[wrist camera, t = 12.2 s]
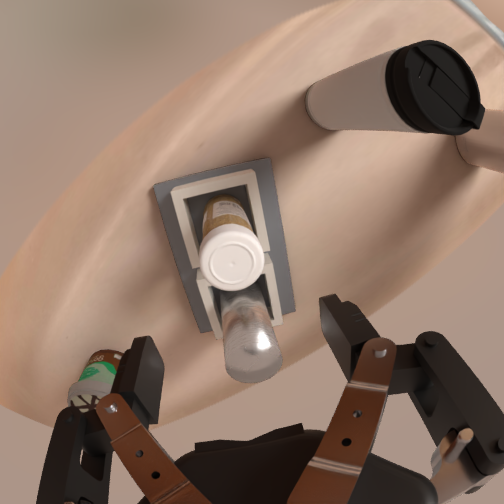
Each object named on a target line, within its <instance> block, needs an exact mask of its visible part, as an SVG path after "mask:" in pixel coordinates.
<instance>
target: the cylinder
mask: <svg viewBox="0 0 504 504" xmlns="http://www.w3.org/2000/svg"><path fill="white" fill-rule="evenodd" d="M220 303H221V317H222V330H223V343H224V355H225V366H226V371H227V373H228V374H229V375H230V376H231V377H232V378H233V379H235V380H237V381H240V382H244V383H257V382H262V381H265V380H267V379H269V378H271V377H272V376H274V375H275V374H276V373H277V372H278V371H279V369H280V368H281V366H282V361H283V359H282V355H281V352H280V349H279V345H278V342H277V339H276V336H275V333H274V330H273V327H272V323H271V320H270V317H269V314H268V311H267V308H266V305H265V301H264V298H263V295H262V292H261V289H260V286H259V283H258V282H257V280H256V281H255V282H254V283H253V284H251V285H250V286H248V287H246V288H244V289H241V290H237V291H225V290H221V289H220Z"/></svg>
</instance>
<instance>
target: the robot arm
mask: <svg viewBox="0 0 504 504" xmlns="http://www.w3.org/2000/svg"><path fill="white" fill-rule="evenodd" d="M456 143H457V147H458V150H459V152H460V155H461V156H462V158H463V159H464V160H465V161H466V162H467V163H469V164H472V165H476V166H479V167H483V168H487V169H490V170H494V171H497V172H501V173H504V110H491V109H485V113H484V117H483V120H482V123H481V126H480V129H479V130H476V129H471V130H470V131H468V132H467V133H465V134H462V135H456ZM319 306H320V318H321V327H322V331H323V334H324V337H325V338H326V340H327V342H328V344H329V346H330V348H331V349H332V352H333V353H334V355H335V358H336V359H337V361H338V363H339V365H340V367H341V369H342V371H343V373H344V375H345V377H346V379H347V380H348V383H347V384H346V386H345V389H344V391H343V394H342V396H341V398H340V401H339V403H338V405H337V408H336V410H335V413H334V415H333V417H332V419H331V422H330V424H329V426H328V428H327V430H326V432H325V431H321V430H304V429H303V425H302V423H299V424H296V425H292V426H288V427H284V428H279V429H275V430H273V431H271V432H269V433H266V434H264V435H262V436H259V437H257V438H255V439H253V440H249V441H234V440H214V441H207V442H199V443H195V450H194V451H191V452H189V453H187V454H185V455H183V456H182V457H180V458H179V459H177V460H176V461H174V460H173V459H172V458H171V457H170V456H169V455H168V454H167V452H166V451H165V450H164V449H163V448H162V447H161V445H160V444H159V443H158V442H157V440H156V439H155V438H154V437H153V436H152V434H151V433H150V432H149V430H148V428H149V424H158V417H159V408H160V400H161V392H162V385H163V377H164V363H163V360H162V358H161V356H160V354H159V352H158V350H157V348H156V346H155V344H154V342H153V340H152V338H151V337H150V336H143V337H137V338H134V340H133V343H132V346H131V349H127V350H126V351H125V353H124V354H123V355H122V357H121V359H120V362H119V366H118V368H117V373H116V375H115V378H114V381H113V385H112V388H111V391H110V394H108V395H106V396H104V397H102V398H101V399H100V400H99V402H98V403H97V406H96V409H93V410H90V411H87V412H84V413H82V412H81V411H80V410H79V409H78V408H77V407H74V406H70V407H67V408H65V409H63V410H62V411H61V412H60V413H59V415H58V417H57V420H56V423H55V426H54V430H53V433H52V436H51V440H50V444H49V447H48V451H47V455H46V459H45V463H44V467H43V471H42V476H41V480H40V485H39V490H38V495H37V501H36V504H108V495H109V483H110V482H109V481H110V472H111V462H112V454H113V451H115V452H116V453H117V455H118V457H119V458H120V460H121V462H122V463H123V465H124V466H125V468H126V469H127V471H128V472H129V474H130V475H131V477H132V478H133V479H134V481H135V482H136V484H137V485H138V487H139V488H140V489H141V491H142V492H143V493H144V495H145V496H144V497H143V498H142V499H141V500H140V502H139V503H138V504H446V503H448V502H450V501H451V500H453V499H455V498H456V497H458V496H460V495H462V494H463V493H465V494H470V493H473V492H476V491H477V490H478V489H480V488H481V487H482V486H484V485H485V484H486V483H487V482H488V481H489V480H491V479H492V478H493V477H494V476H495V475H496V474H498V473H499V472H500V471H501V470H502V469H503V468H504V414H503V412H502V411H501V409H500V408H499V406H498V405H497V404H496V402H495V401H494V399H493V398H492V397H491V395H490V394H489V393H488V391H487V390H486V388H485V387H484V386H483V384H482V383H481V382H480V381H479V379H478V378H477V377H476V375H475V374H474V373H473V371H472V370H471V369H470V368H469V366H468V365H467V364H466V363H465V361H464V360H463V359H462V358H461V356H460V355H459V354H458V353H457V351H456V350H455V349H454V348H453V347H452V346H451V344H450V343H449V342H448V341H447V339H446V338H445V337H444V336H443V335H442V334H440V333H437V332H433V331H428V332H424V333H422V334H420V335H419V336H418V337H417V338H416V341H415V343H412V344H405V345H395V343H394V342H393V341H391V340H389V339H387V338H383V337H380V335H379V334H378V333H377V331H376V330H375V329H374V328H373V326H372V325H371V323H370V322H369V321H368V319H366V317H365V316H364V314H363V313H362V312H361V310H360V309H359V308H358V307H357V305H355V304H353V303H351V302H349V301H346V302H341V301H340V299H339V298H338V296H337V295H336V294H331V295H328V296H324V297H321V298H319ZM400 393H408V394H409V396H410V398H411V400H412V402H413V403H414V405H415V407H416V409H417V411H418V412H419V414H420V416H421V418H422V420H423V421H424V424H425V425H426V427H427V429H428V431H429V433H430V435H431V437H432V439H433V440H434V443H435V445H436V446H437V448H436V450H435V451H434V453H433V455H432V458H431V466H432V471H433V473H432V477H431V479H430V480H429V479H428V478H426V477H425V476H423V475H421V474H419V473H417V472H414V471H412V470H409V469H407V468H404V467H402V466H400V465H397V464H395V463H393V462H390V461H388V460H386V459H384V458H381V457H379V456H377V455H375V454H372V453H371V450H372V448H373V445H374V442H375V439H376V435H377V432H378V429H379V425H380V422H381V419H382V415H383V412H384V408H385V404H386V401H387V397H388V395H392V394H400ZM82 449H83V455H82V461H81V465H80V455H81V450H82Z"/></svg>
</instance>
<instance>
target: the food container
mask: <svg viewBox="0 0 504 504" xmlns="http://www.w3.org/2000/svg"><path fill="white" fill-rule="evenodd" d="M122 355H123V353H121V352H119V351H114V350H100V351H97V352H95V353H94V354H93V355H92V356H91V358H90V360H89V362H88V364H87V366H86V367H85V369H84V371H83V373H82V375H81V377H80V379H79V381H78V382H76V383H74V384H73V385H72V386H71V387H70V388H69V392H68V407H70V406H74V407H77V408H78V409H79V410H80V411H81V412H82V413H84V412H87V411H90V410H93V409H96V406H97V403H98V402H99V400H100V399H101V398H102V397H104V396H106V395H108V394H110V391H111V388H112V385H113V381H114V378H115V375H116V373H117V368H118V366H119V362H120V359H121V357H122Z"/></svg>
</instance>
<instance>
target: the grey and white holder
mask: <svg viewBox="0 0 504 504" xmlns="http://www.w3.org/2000/svg"><path fill="white" fill-rule="evenodd" d="M153 187H154V191H155V195H156V198H157V202H158V205H159V209H160V212H161V216H162V219H163V223H164V226H165V229H166V233H167V236H168V239H169V243H170V246H171V249H172V252H173V255H174V258H175V261H176V265H177V268H178V271H179V274H180V277H181V280H182V283H183V285H184V288H185V291H186V294H187V297H188V300H189V303H190V305H191V308H192V311H193V314H194V317H195V319H196V322H197V325H198V327H199V330H200V333H204V332H209V331H213V332H214V335H215V338H216V340H217V339H222V338H223V330H222V317H221V303H220V289H218V288H216V287H214V286H212V285H211V284H210V283H208V282H207V280H206V279H205V278H204V277H203V275H202V273H201V270H200V266H199V250H200V245H201V243H202V240H203V219H204V217H203V212H204V209H205V206H206V204H207V202H208V201H209V200H210V199H212V198H213V197H215V196H218V195H223V194H225V195H231V196H233V197H235V198H236V199H238V200H239V201H240V203H241V204H242V206H243V208H244V212H245V214H246V216H247V218H248V220H249V223H250V225H251V227H252V230H253V233H254V234H255V235H256V237H257V238H258V240H259V242H260V244H261V247H262V249H263V253H264V267H263V270H262V273H261V275H260V276H259V277H258V279H257V282H258V283H259V286H260V289H261V292H262V295H263V298H264V301H265V305H266V308H267V311H268V314H269V317H270V320H271V323H272V327H274V326H278V325H282V324H283V318H282V315H283V314H287V313H291V312H295V311H296V310H295V303H294V296H293V289H292V283H291V276H290V270H289V263H288V257H287V251H286V244H285V238H284V232H283V226H282V220H281V214H280V209H279V203H278V197H277V192H276V186H275V181H274V175H273V170H272V164H271V159H270V158H269V157H268V158H263V159H258V160H253V161H248V162H243V163H239V164H234V165H229V166H225V167H221V168H216V169H212V170H208V171H204V172H200V173H195V174H192V175H188V176H184V177H180V178H176V179H172V180H169V181H165V182H161V183H158V184H155V185H153Z"/></svg>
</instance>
